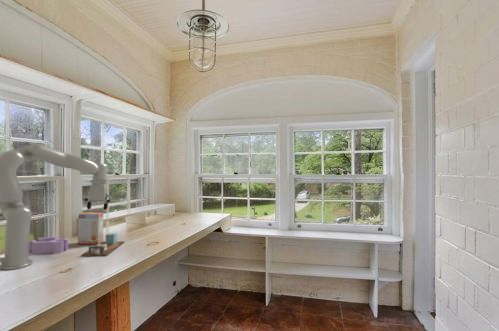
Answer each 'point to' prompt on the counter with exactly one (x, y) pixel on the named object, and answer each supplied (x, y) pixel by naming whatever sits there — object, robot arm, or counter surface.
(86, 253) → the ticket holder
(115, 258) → the counter surface
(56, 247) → the purple piece
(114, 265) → the counter surface
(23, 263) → the robot arm
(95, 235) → the cracker box
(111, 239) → the stub
